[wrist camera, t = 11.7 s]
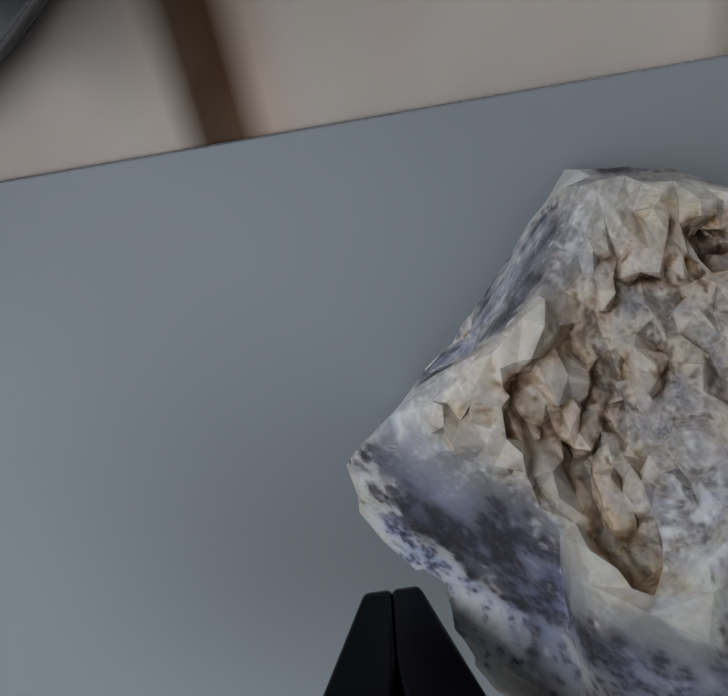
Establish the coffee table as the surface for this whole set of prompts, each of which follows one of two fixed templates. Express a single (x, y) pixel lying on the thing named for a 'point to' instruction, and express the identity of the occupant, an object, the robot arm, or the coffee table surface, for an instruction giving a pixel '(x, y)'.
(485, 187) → the slate mat
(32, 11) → the sprocket base
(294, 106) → the coffee table surface
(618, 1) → the coffee table surface
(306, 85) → the coffee table surface
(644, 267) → the mineral specimen
